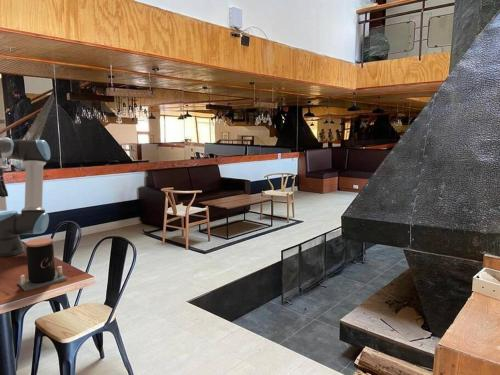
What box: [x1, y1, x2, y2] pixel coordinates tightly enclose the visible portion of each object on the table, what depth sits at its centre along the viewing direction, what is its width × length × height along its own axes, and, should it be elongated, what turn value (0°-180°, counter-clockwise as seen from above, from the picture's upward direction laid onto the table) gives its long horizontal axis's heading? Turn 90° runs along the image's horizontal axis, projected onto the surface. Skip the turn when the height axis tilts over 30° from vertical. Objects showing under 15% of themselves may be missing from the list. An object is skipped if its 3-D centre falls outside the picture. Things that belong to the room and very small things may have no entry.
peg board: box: [17, 265, 68, 292], centre depth 165 cm, size 17×11×5 cm, turn 137°
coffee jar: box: [25, 237, 56, 284], centre depth 164 cm, size 11×11×18 cm
